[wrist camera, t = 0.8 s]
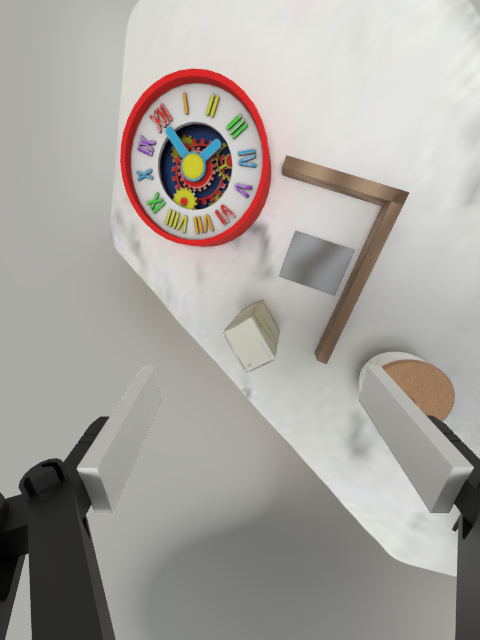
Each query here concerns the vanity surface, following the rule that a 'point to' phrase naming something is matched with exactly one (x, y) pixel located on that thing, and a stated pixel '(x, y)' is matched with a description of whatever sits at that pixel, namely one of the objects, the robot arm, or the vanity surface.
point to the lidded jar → (417, 381)
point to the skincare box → (253, 336)
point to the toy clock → (196, 158)
